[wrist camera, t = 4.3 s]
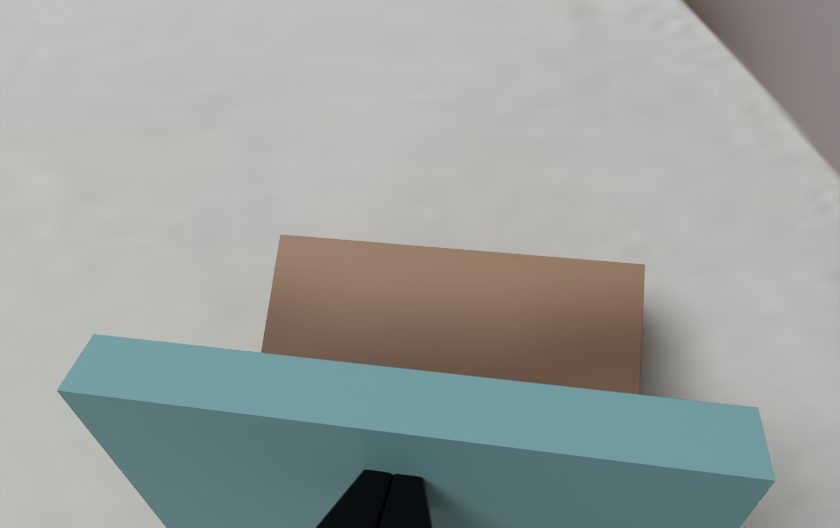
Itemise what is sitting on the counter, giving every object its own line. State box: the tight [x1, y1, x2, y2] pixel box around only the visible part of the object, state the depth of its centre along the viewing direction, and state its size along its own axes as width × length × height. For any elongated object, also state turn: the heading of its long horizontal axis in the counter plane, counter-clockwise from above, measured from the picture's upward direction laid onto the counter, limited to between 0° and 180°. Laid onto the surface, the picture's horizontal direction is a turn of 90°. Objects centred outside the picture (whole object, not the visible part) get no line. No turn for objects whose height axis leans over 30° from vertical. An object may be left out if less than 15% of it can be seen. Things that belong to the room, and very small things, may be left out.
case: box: [261, 235, 645, 395], centre depth 17 cm, size 7×9×5 cm
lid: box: [57, 334, 775, 528], centre depth 11 cm, size 7×9×1 cm
